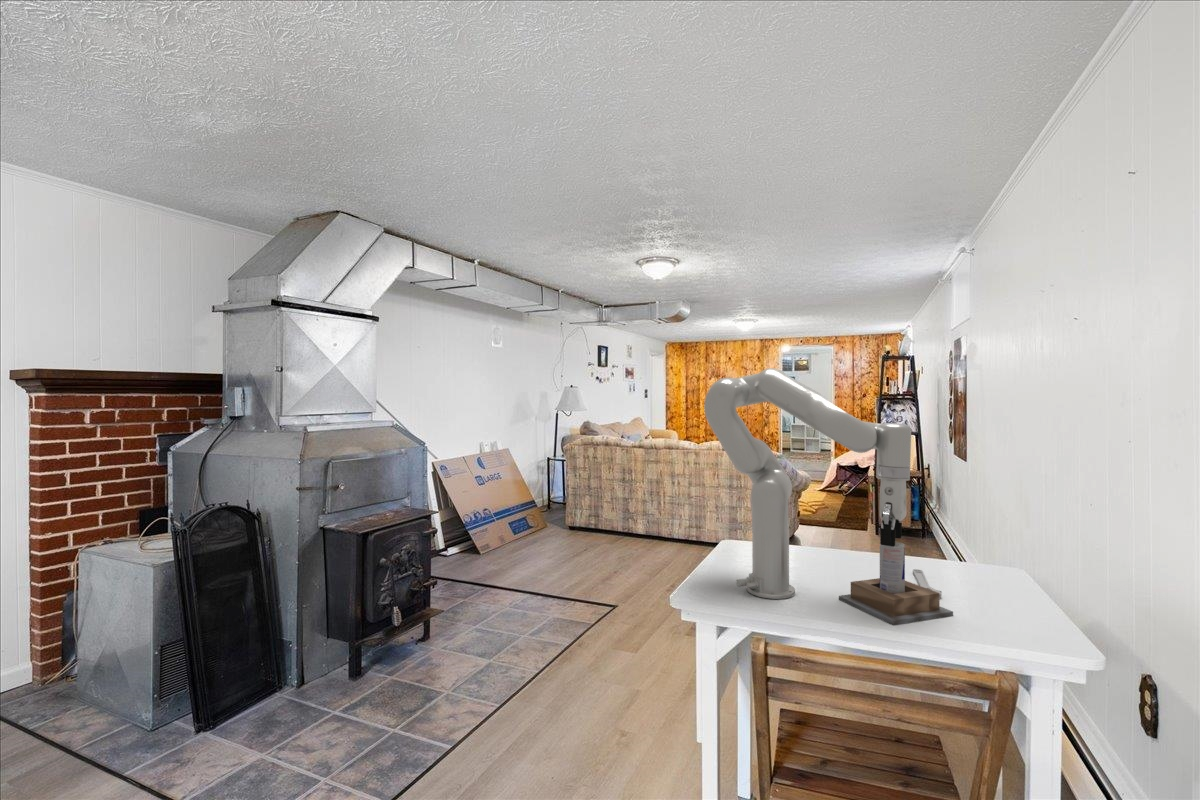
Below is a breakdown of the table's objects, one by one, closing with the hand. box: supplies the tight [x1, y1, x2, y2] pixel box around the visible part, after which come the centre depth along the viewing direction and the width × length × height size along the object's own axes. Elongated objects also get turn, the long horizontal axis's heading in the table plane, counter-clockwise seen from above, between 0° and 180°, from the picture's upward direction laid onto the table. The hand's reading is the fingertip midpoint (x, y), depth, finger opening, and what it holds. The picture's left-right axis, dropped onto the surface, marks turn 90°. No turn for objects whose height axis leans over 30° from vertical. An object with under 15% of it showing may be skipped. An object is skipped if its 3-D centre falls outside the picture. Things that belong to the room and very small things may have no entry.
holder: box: [838, 577, 954, 626], centre depth 147 cm, size 18×18×5 cm
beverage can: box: [879, 541, 906, 594], centre depth 147 cm, size 6×6×15 cm
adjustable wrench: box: [912, 568, 942, 600], centre depth 164 cm, size 25×6×2 cm, turn 154°
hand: (891, 541), depth 147 cm, fingers open, 9 cm apart
